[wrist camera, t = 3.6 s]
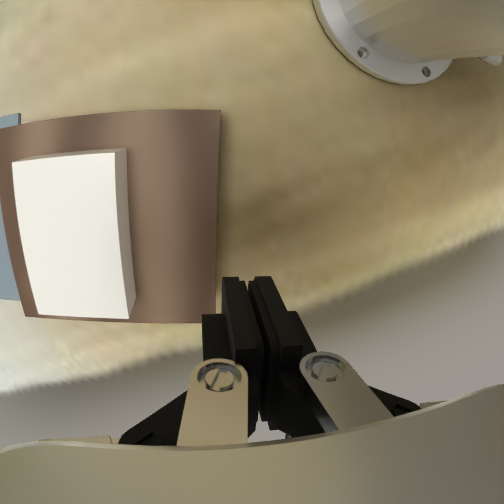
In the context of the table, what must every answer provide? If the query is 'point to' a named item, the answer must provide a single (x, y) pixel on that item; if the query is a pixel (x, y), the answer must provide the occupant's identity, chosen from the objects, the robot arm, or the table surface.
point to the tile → (76, 232)
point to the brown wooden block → (139, 203)
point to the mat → (3, 280)
